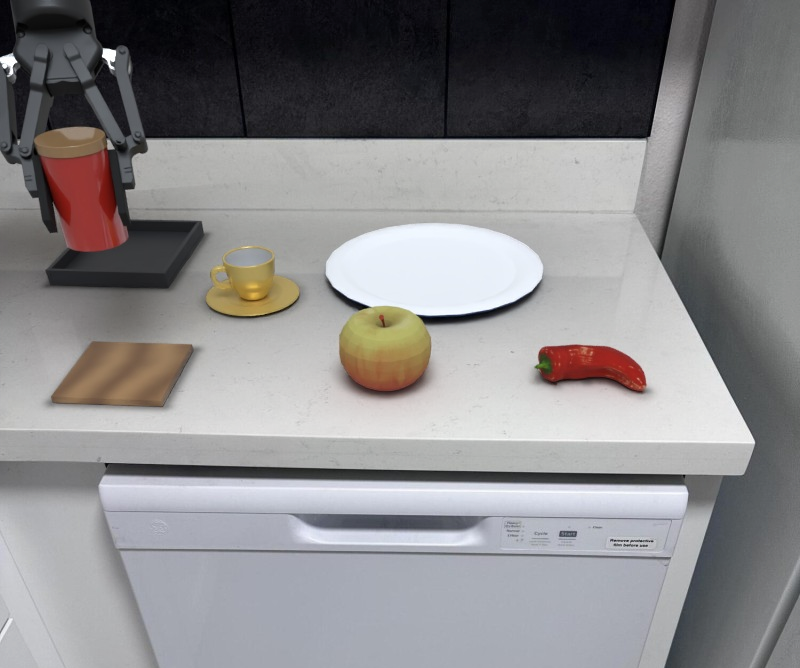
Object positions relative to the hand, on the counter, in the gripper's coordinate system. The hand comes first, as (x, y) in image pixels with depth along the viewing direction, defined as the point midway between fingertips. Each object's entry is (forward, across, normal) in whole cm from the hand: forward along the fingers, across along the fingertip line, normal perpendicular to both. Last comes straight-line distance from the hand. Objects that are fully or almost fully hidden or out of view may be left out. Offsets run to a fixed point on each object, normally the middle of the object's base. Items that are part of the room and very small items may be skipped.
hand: (87, 222), depth 78 cm
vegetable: (+23, -49, -1) cm, 54 cm away
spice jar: (0, 0, -5) cm, 5 cm away
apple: (+19, -28, -5) cm, 34 cm away
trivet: (+13, 0, -11) cm, 16 cm away
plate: (+1, -40, -22) cm, 46 cm away
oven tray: (-10, 0, -34) cm, 35 cm away
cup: (+2, -16, -22) cm, 27 cm away
